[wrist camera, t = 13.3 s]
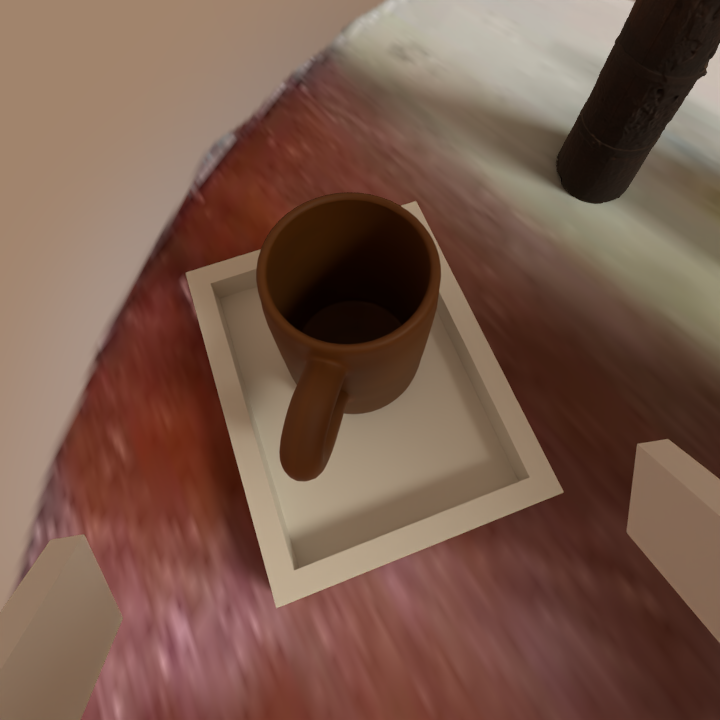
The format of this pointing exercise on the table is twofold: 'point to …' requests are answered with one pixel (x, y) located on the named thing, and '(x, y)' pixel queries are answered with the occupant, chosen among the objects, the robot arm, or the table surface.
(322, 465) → the mug
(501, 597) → the table surface
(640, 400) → the table surface
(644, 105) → the butter churn
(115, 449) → the table surface
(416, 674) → the table surface
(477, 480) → the tray
